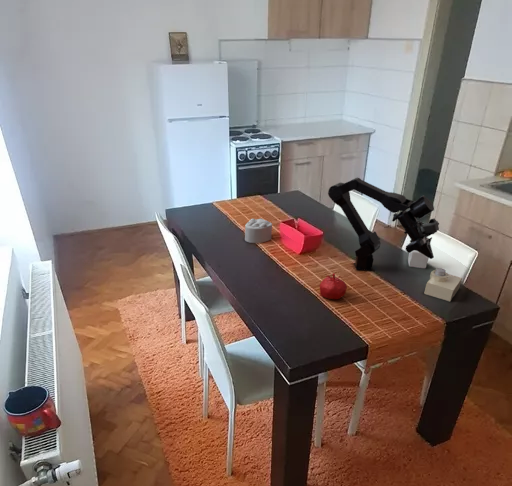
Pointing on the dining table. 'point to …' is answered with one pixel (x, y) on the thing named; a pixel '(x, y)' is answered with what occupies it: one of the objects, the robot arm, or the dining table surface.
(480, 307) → the dining table surface
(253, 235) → the lumpy-topped squat cylinder
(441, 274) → the flush button
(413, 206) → the robot arm
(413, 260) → the medicine bottle
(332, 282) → the pomegranate
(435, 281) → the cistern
